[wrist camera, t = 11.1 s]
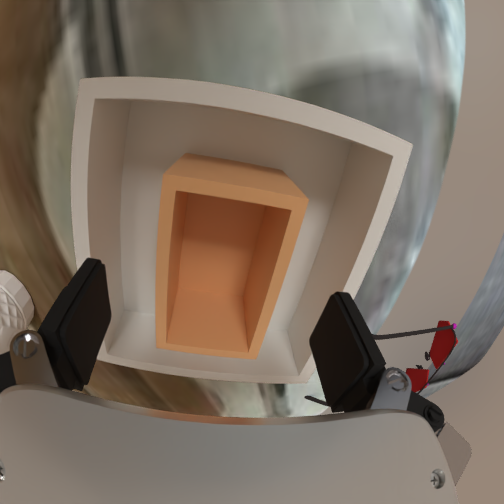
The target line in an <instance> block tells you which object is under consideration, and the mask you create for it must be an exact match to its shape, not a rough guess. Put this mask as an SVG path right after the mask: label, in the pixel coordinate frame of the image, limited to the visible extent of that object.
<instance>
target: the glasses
mask: <svg viewBox="0 0 504 504" xmlns="http://www.w3.org/2000/svg"><path fill="white" fill-rule="evenodd" d="M456 327H457V325H456V324H455V323H454V324H452V325H450V323H449V321H439V322H438V326H437V328H432V329H425V330H419V331H413V332H405V333H396V334H389V335H373V334H372V336H373V338H374V339H375V340H380V339H389V338H397V337H404V336H411V335H417V334H423V333H430V332H435V331H436V333H435V336H434V340H433V343H432V347H431V350H430V352H429V354H428V353H427V352H425V359H426V360H427V361H428V360H429V359H430V357H431V359H432V361H433V363H434V366H435V368H436V369H437V370H436V372H435V373H434V374H433V375H432V377H431V378H430V379H429V380H428V375H429V370H426V369H423V367H422V366H421V365H420V366H419V365H416V366H417V367H418V369H414V368H406V374H407V375H408V376H409V378H410V380H411V383H412V388H411V390H412V391H413V392H417V391H419V390H420V391H419V392H418V393H417V394H419V393H420V392H421V391H422V390H423V389H424V388H426V387H427V385H429V384H428V383H429V381H430V380H431V379H432V378H433V376H434V375H435V374H436V373H437V371H438V370H439V369H440V367H441V366H442V365H445V363H444V362H445V361H446V359H447V358H448V357H449V355H450V354H451V352H452V350H453V348H454V347H455V346H456V344H457V343H458V340H457V338H456V334H455V332H454V330H453V329H455V328H456ZM428 357H429V359H428ZM438 367H439V368H438ZM427 381H428V382H427ZM305 398H306V399H308V400H311V401H314V402H317V403H319V404H322V405H325V406H328V405H327V402H324V401H322V400H319V399H317V398H314V397H311V396H305ZM330 407H331V406H330Z"/></svg>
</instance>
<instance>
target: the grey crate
mask: <svg viewBox="0 0 504 504" xmlns="http://www.w3.org/2000/svg"><path fill="white" fill-rule="evenodd" d="M412 146H413V144H411V143H409V142H407V141H405V140H403V139H401V138H399V137H397V136H394V135H392V134H390V133H388V132H385V131H383V130H381V129H378V128H376V127H374V126H371V125H369V124H366V123H364V122H361V121H359V120H356V119H353V118H351V117H348V116H345V115H342V114H340V113H337V112H334V111H331V110H328V109H325V108H322V107H318V106H315V105H312V104H308V103H305V102H302V101H298V100H294V99H291V98H287V97H283V96H279V95H275V94H271V93H266V92H262V91H257V90H252V89H247V88H242V87H236V86H231V85H225V84H218V83H211V82H204V81H195V80H185V79H174V78H159V77H97V78H83V79H80V84H79V89H78V96H77V102H76V109H75V117H74V127H73V138H72V154H71V210H72V227H73V238H74V248H75V257H76V264H77V271H78V269H79V268H80V267H81V265H82V264H83V262H84V261H85V260H86V258H88V257H89V258H94V259H100V260H101V262H102V264H105V267H106V277H107V285H108V293H109V300H110V307H111V314H112V315H111V321H110V324H109V327H108V329H107V332H106V334H105V337H104V339H103V342H102V345H101V348H100V350H99V353H98V356H97V360H101V361H105V362H109V363H113V364H117V365H122V366H127V367H131V368H136V369H141V370H147V371H152V372H158V373H164V374H170V375H177V376H184V377H192V378H201V379H210V380H221V381H234V382H250V383H307V382H308V380H309V379H310V377H311V375H312V374H313V372H314V370H315V369H316V364H315V361H314V358H313V354H312V351H311V348H310V344H309V339H310V336H311V334H312V332H313V330H314V328H315V326H316V324H317V322H318V320H319V318H320V316H321V314H322V312H323V310H324V308H325V306H326V304H327V301H328V299H329V297H330V296H331V295H332V294H334V293H335V292H337V291H339V292H348V293H349V294H350V295H351V297H352V299H353V300H354V298H355V296H356V294H357V292H358V289H359V287H360V285H361V283H362V281H363V279H364V277H365V275H366V272H367V270H368V268H369V266H370V263H371V261H372V259H373V257H374V254H375V252H376V249H377V247H378V245H379V242H380V240H381V237H382V235H383V232H384V230H385V227H386V225H387V222H388V220H389V217H390V214H391V211H392V209H393V206H394V203H395V200H396V198H397V195H398V192H399V189H400V186H401V183H402V180H403V177H404V173H405V170H406V167H407V164H408V160H409V157H410V153H411V150H412ZM185 153H190V154H197V155H204V156H210V157H216V158H222V159H228V160H234V161H240V162H245V163H250V164H255V165H260V166H265V167H270V168H275V169H279V170H283V171H284V173H285V174H286V175H287V176H288V177H289V178H290V179H291V180H292V181H293V182H294V183H295V184H296V186H297V187H298V188H299V189H300V190H301V191H302V192H303V193H304V194H305V196H306V197H307V198H308V199H309V202H308V205H307V208H306V212H305V215H304V218H303V222H302V225H301V228H300V231H299V235H298V238H297V241H296V244H295V247H294V251H293V254H292V257H291V260H290V263H289V266H288V269H287V272H286V275H285V278H284V281H283V284H282V287H281V290H280V293H279V296H278V299H277V302H276V305H275V308H274V311H273V314H272V317H271V320H270V322H269V325H268V328H267V331H266V334H265V337H264V339H263V342H262V345H261V348H260V350H259V353H258V356H257V359H256V360H255V359H241V358H230V357H219V356H210V355H202V354H194V353H186V352H179V351H172V350H166V349H160V348H156V324H155V281H156V251H157V234H158V220H159V208H160V197H161V187H162V179H163V174H164V173H165V172H166V171H167V170H168V169H169V168H170V167H171V166H172V165H173V164H174V163H175V162H176V161H177V160H178V159H179V158H181V157H182V156H183V155H184V154H185Z"/></svg>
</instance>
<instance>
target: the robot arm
mask: <svg viewBox="0 0 504 504" xmlns="http://www.w3.org/2000/svg"><path fill="white" fill-rule="evenodd" d="M111 315H112V314H111V307H110V300H109V293H108V285H107V277H106V267H105V264H102V262H101V260H100V259H94V258H89V257H88V258H86V260H85V261H84V262H83V264H82V265H81V267H80V268H79V269H78V271H77V272H76V274H75V275H74V277H73V278H72V280H71V281H70V283H69V284H68V286H66V287H65V288H64V289H63V290H62V292H61V293H60V295H59V296H58V298H57V299H56V301H55V302H54V304H53V306H52V307H51V309H50V311H49V312H48V314H47V316H46V317H45V319H44V321H43V322H42V324H41V326H40V328H39V329H38V331H37V332H35V331H33V330H24V331H21V332H19V333H17V334H16V335H15V336H14V337H13V339H12V340H11V343H10V351H8V352H5V353H3V354H0V504H459V500H458V496H457V493H456V489H455V486H456V484H457V482H458V480H459V479H460V477H461V475H462V473H463V471H464V469H465V467H466V465H467V463H468V461H469V459H470V457H471V454H472V453H471V447H470V445H469V443H468V442H467V441H466V440H465V439H464V438H463V437H462V436H461V435H460V434H459V433H458V432H457V431H456V430H455V429H454V428H453V427H452V426H451V425H450V424H449V423H448V422H446V423H444V415H443V412H442V410H441V409H440V408H439V407H438V406H437V405H435V404H434V403H432V402H430V401H429V400H427V399H425V398H423V397H422V396H420V395H418V394H417V393H415V392H413V391H412V390H411V388H412V383H411V380H410V378H409V376H408V375H407V374H406V373H405V372H404V371H402V370H400V369H399V368H394V367H391V368H388V369H386V368H385V364H386V362H385V360H384V358H383V356H382V354H381V352H380V350H379V348H378V346H377V344H376V342H375V340H374V338H373V336H372V334H371V332H370V330H369V328H368V326H367V325H366V323H365V321H364V319H363V317H362V315H361V313H360V311H359V310H358V308H357V306H356V304H355V302H354V300H353V299H352V297H351V295H350V294H349V293H348V292H339V291H337V292H335V293H334V294H332V295H331V296H330V297H329V299H328V301H327V304H326V306H325V308H324V310H323V312H322V314H321V316H320V318H319V320H318V322H317V324H316V326H315V328H314V330H313V332H312V334H311V336H310V339H309V344H310V348H311V351H312V354H313V358H314V361H315V364H316V368H317V371H318V375H319V378H320V381H321V385H322V388H323V392H324V395H325V399H326V402H327V405H328V406H329V407H330V406H331V410H332V412H333V413H334V412H342V411H344V413H338V414H328V415H317V416H303V417H283V418H239V417H218V416H205V415H194V414H185V413H177V412H169V411H162V410H156V409H150V408H144V407H139V406H134V405H129V404H124V403H120V402H115V401H110V400H106V399H102V398H98V397H94V396H90V395H86V394H83V393H79V392H75V391H72V390H73V389H77V390H80V391H82V389H83V386H84V385H87V384H88V382H89V379H90V376H91V373H92V370H93V367H94V364H95V362H96V359H97V356H98V353H99V350H100V348H101V345H102V342H103V339H104V337H105V334H106V332H107V329H108V327H109V324H110V321H111Z"/></svg>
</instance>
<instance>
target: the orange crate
mask: <svg viewBox="0 0 504 504" xmlns="http://www.w3.org/2000/svg"><path fill="white" fill-rule="evenodd" d="M308 202H309V199H308V198H307V197H306V196H305V194H304V193H303V192H302V191H301V190H300V189H299V188H298V187H297V186H296V184H295V183H294V182H293V181H292V180H291V179H290V178H289V177H288V176H287V175H286V174H285V173H284V171H283V170H279V169H275V168H270V167H265V166H260V165H255V164H250V163H245V162H240V161H234V160H228V159H222V158H216V157H210V156H204V155H197V154H190V153H185V154H184V155H183V156H182V157H181V158H179V159H178V160H177V161H176V162H175V163H174V164H173V165H172V166H171V167H170V168H169V169H168V170H167V171H166V172H165V173H164V174H163V179H162V187H161V197H160V208H159V220H158V234H157V251H156V281H155V324H156V348H160V349H166V350H172V351H179V352H186V353H194V354H202V355H210V356H219V357H230V358H241V359H255V360H256V359H257V356H258V353H259V350H260V348H261V345H262V342H263V339H264V337H265V334H266V331H267V328H268V325H269V322H270V320H271V317H272V314H273V311H274V308H275V305H276V302H277V299H278V296H279V293H280V290H281V287H282V284H283V281H284V278H285V275H286V272H287V269H288V266H289V263H290V260H291V257H292V254H293V251H294V247H295V244H296V241H297V238H298V235H299V231H300V228H301V225H302V222H303V218H304V215H305V212H306V208H307V205H308Z"/></svg>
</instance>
